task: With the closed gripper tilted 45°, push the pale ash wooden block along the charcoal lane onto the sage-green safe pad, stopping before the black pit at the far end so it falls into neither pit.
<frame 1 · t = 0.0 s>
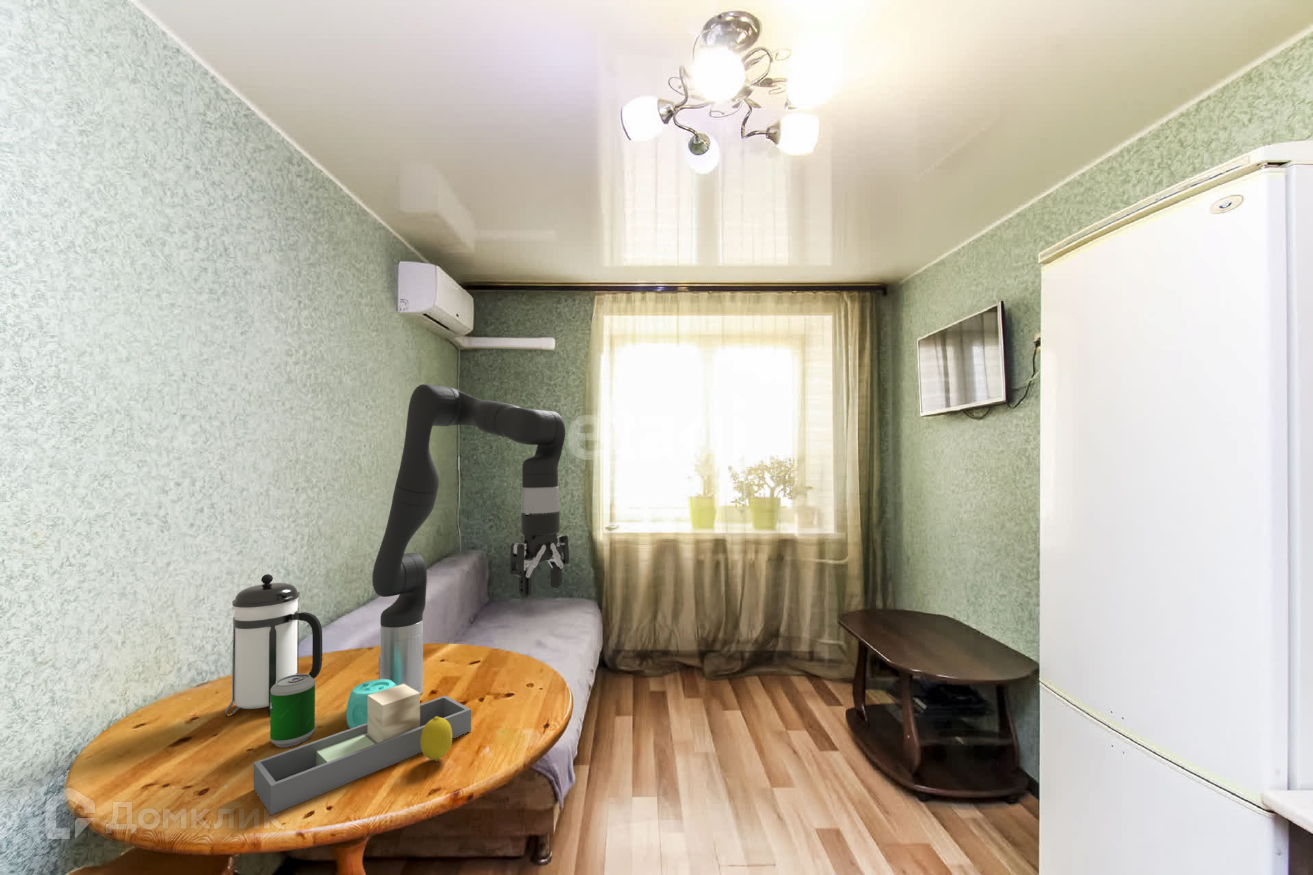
hand: (541, 591, 110), 29 cm above the table, tool pointing down, fingers open, 8 cm apart
ash block: (393, 733, 107), point 3 cm above the table, touching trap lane
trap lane: (372, 757, 104), on the table
soda can: (292, 740, 111), on the table
coffee press: (272, 705, 128), on the table
lemon: (436, 761, 102), on the table
decorative dice: (373, 725, 117), on the table
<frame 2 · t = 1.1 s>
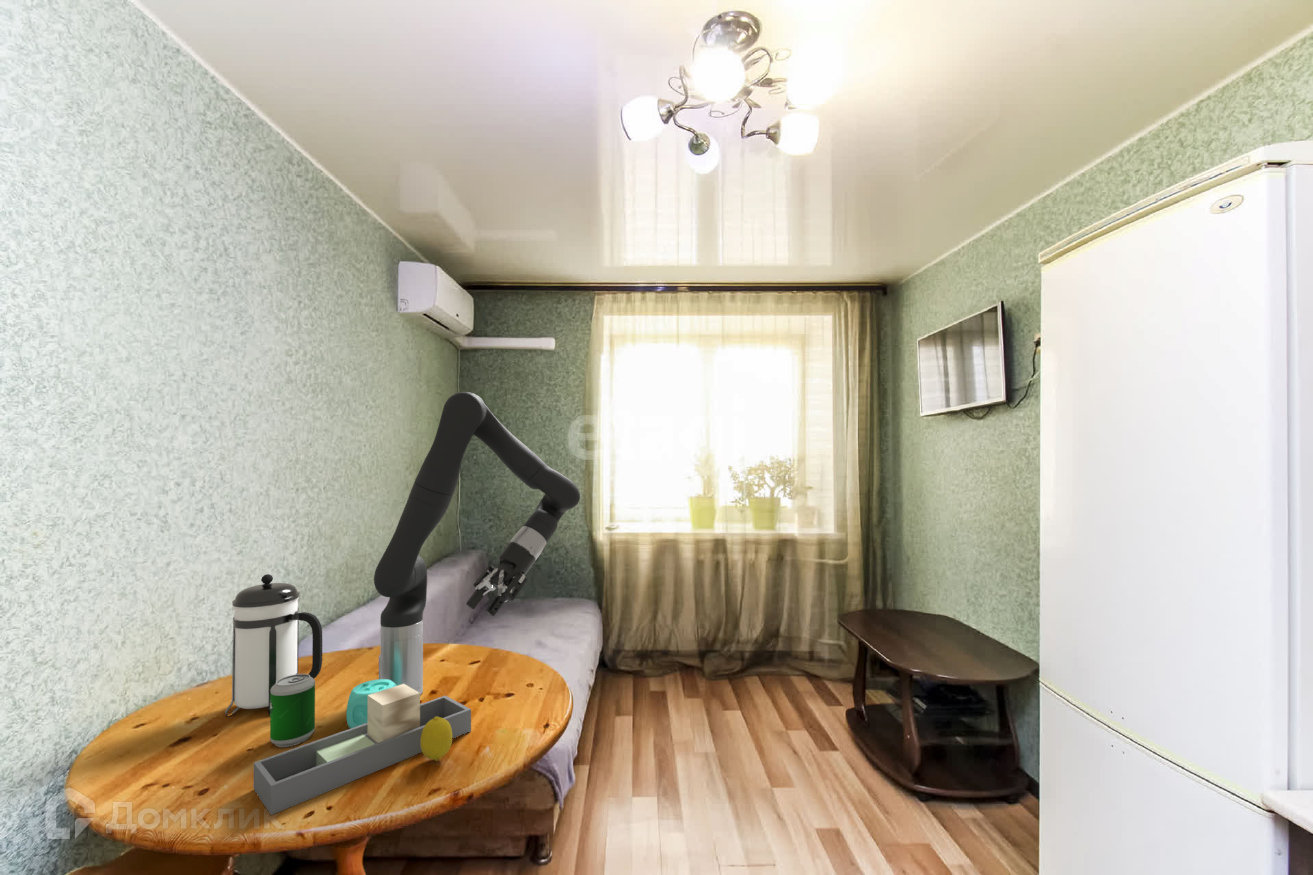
hand: (479, 610, 121), 23 cm above the table, tool tilted 45°, fingers open, 8 cm apart
nothing on the table moved.
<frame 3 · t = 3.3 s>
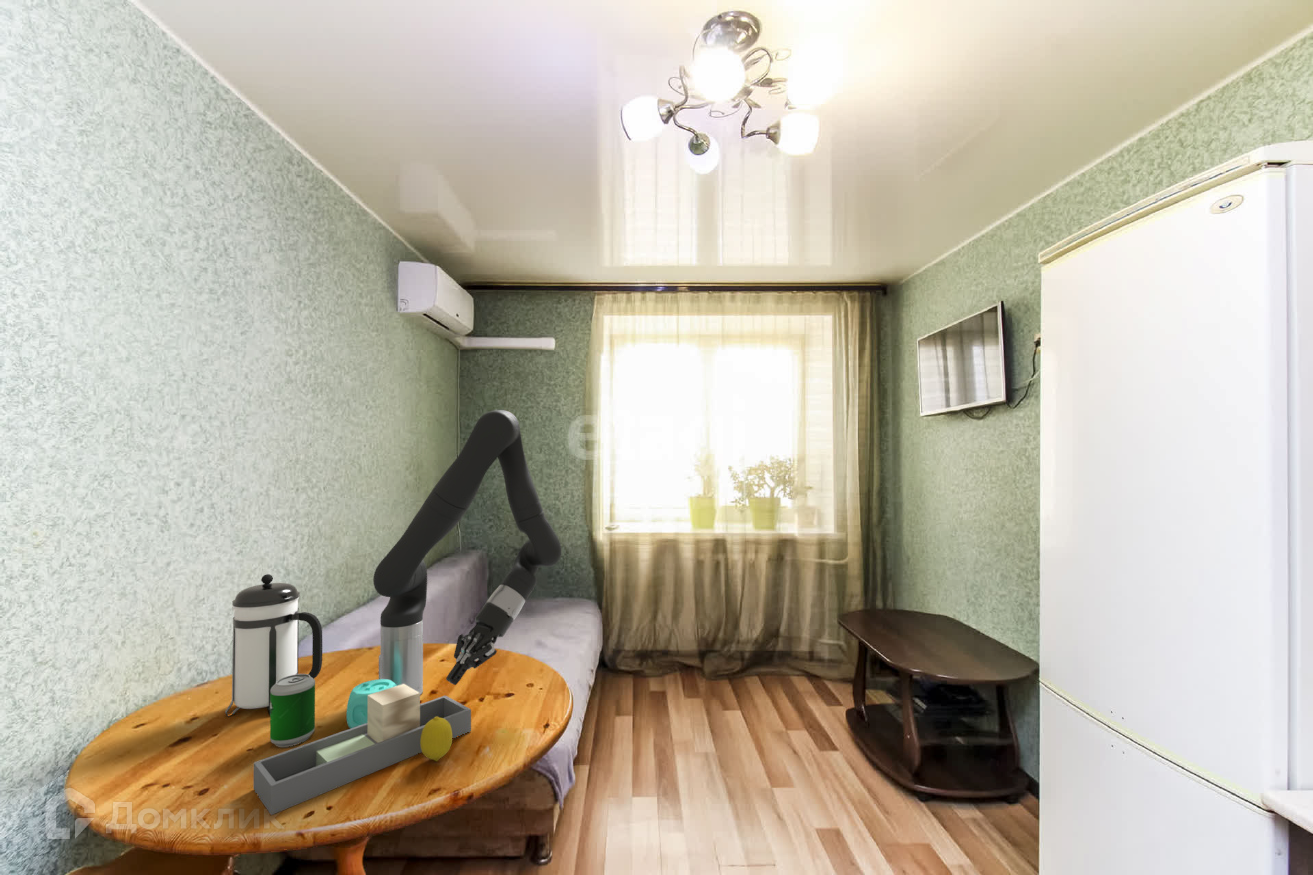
hand: (450, 682, 116), 9 cm above the table, tool tilted 45°, fingers closed
nothing on the table moved.
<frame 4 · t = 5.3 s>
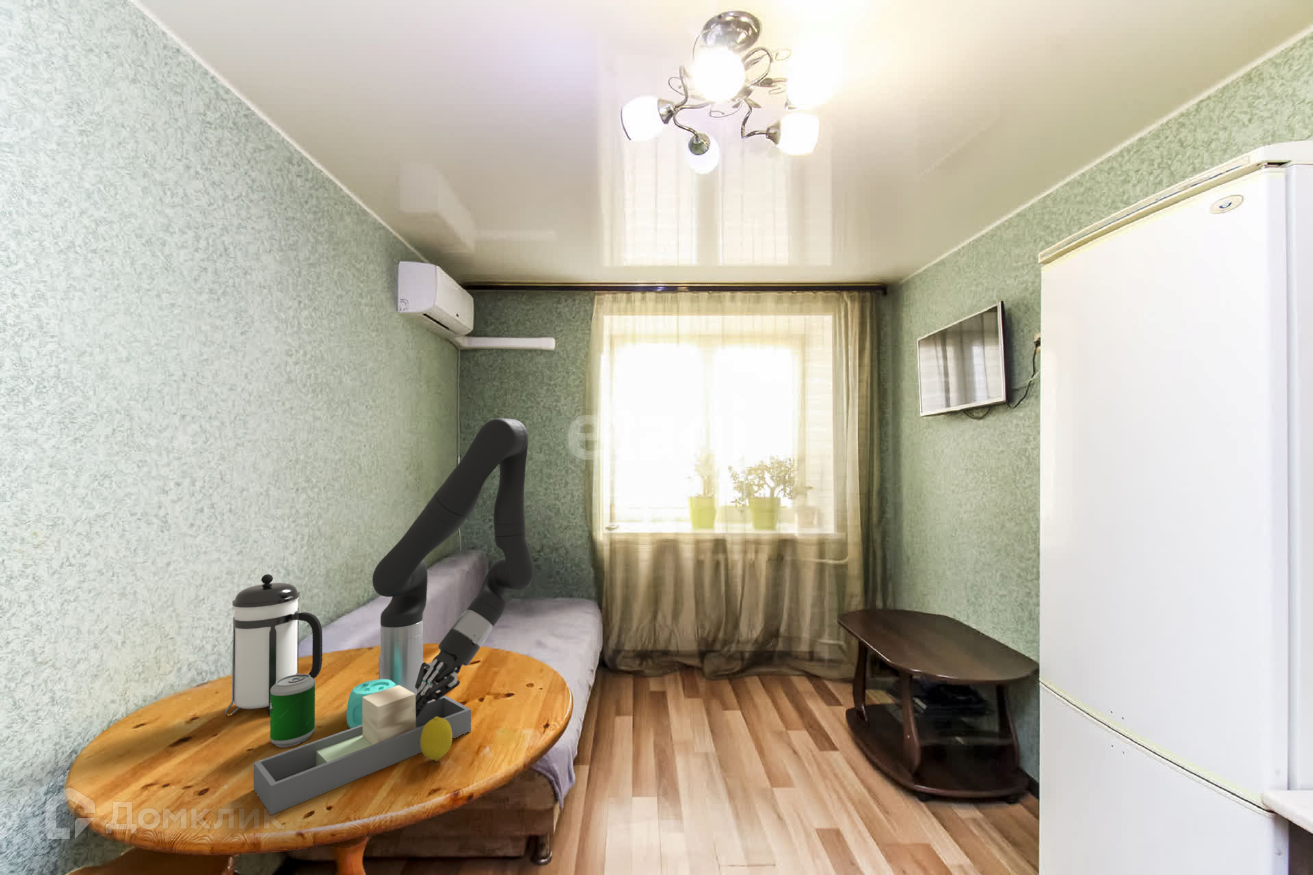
hand: (410, 715, 109), 5 cm above the table, tool tilted 45°, fingers closed
ash block: (389, 735, 106), point 3 cm above the table
everything else where it was.
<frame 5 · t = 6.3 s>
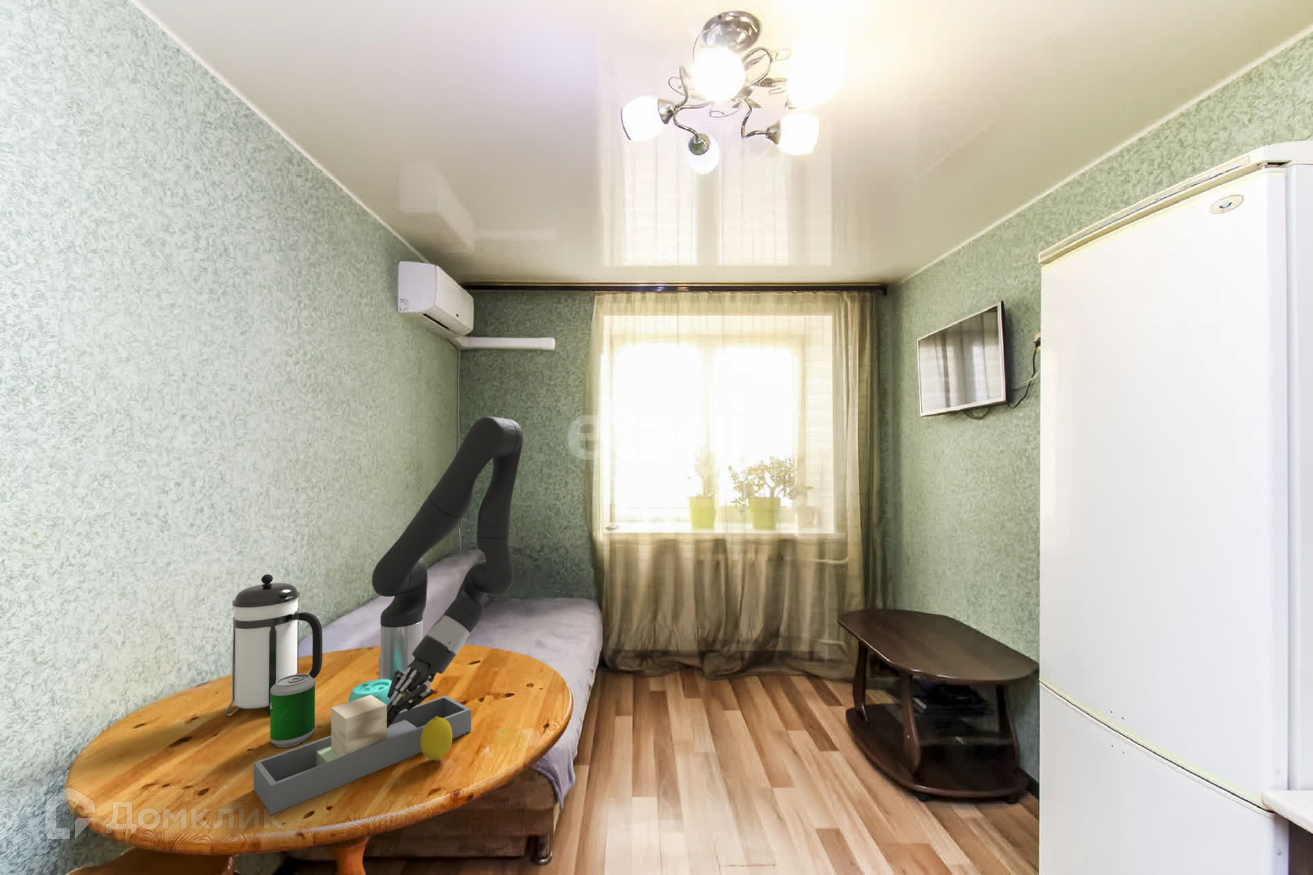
hand: (381, 725, 105), 5 cm above the table, tool tilted 45°, fingers closed
ash block: (359, 747, 102), point 3 cm above the table, touching gripper
everything else where it was.
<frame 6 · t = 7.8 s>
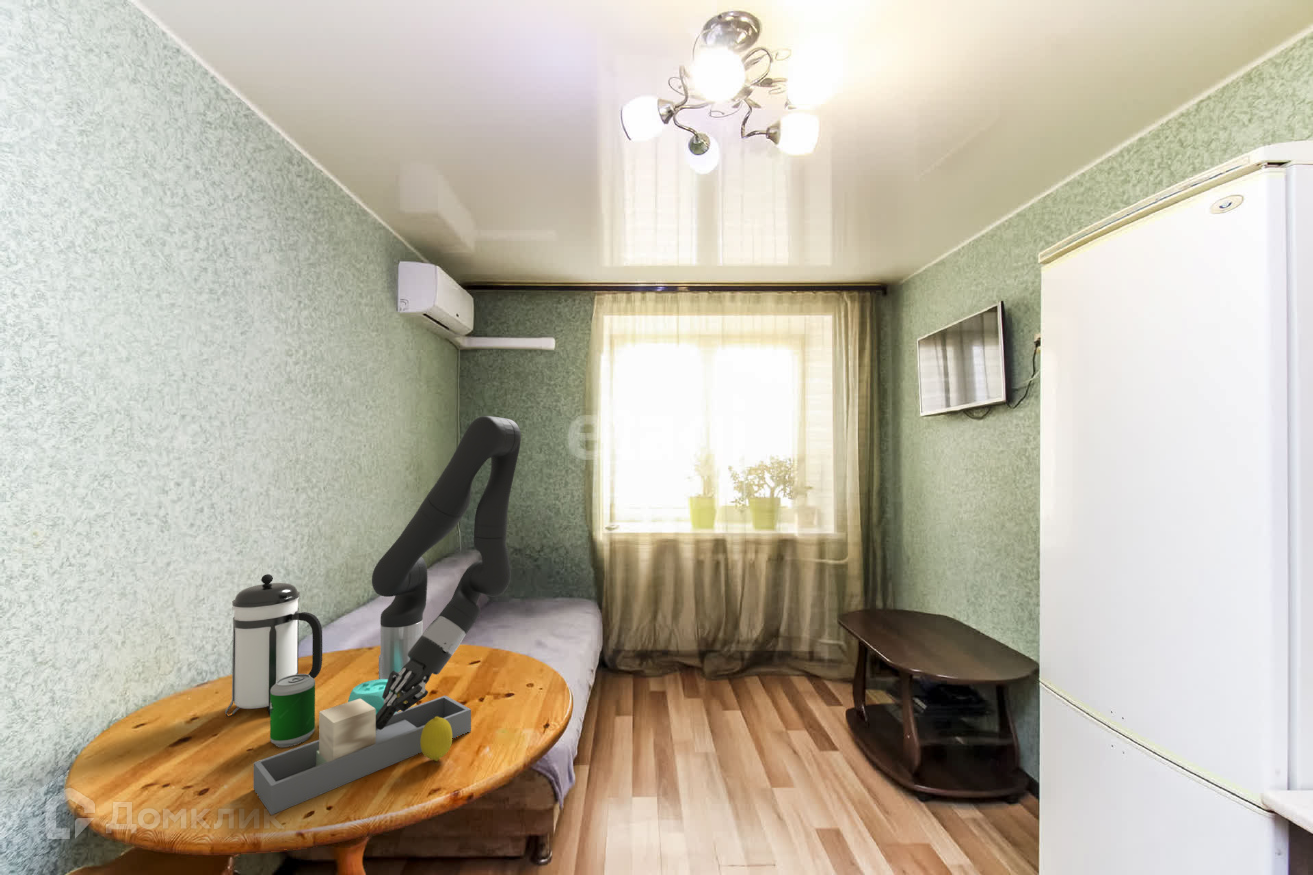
hand: (375, 726, 105), 5 cm above the table, tool tilted 45°, fingers closed
ash block: (347, 751, 100), point 3 cm above the table, touching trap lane
everything else where it was.
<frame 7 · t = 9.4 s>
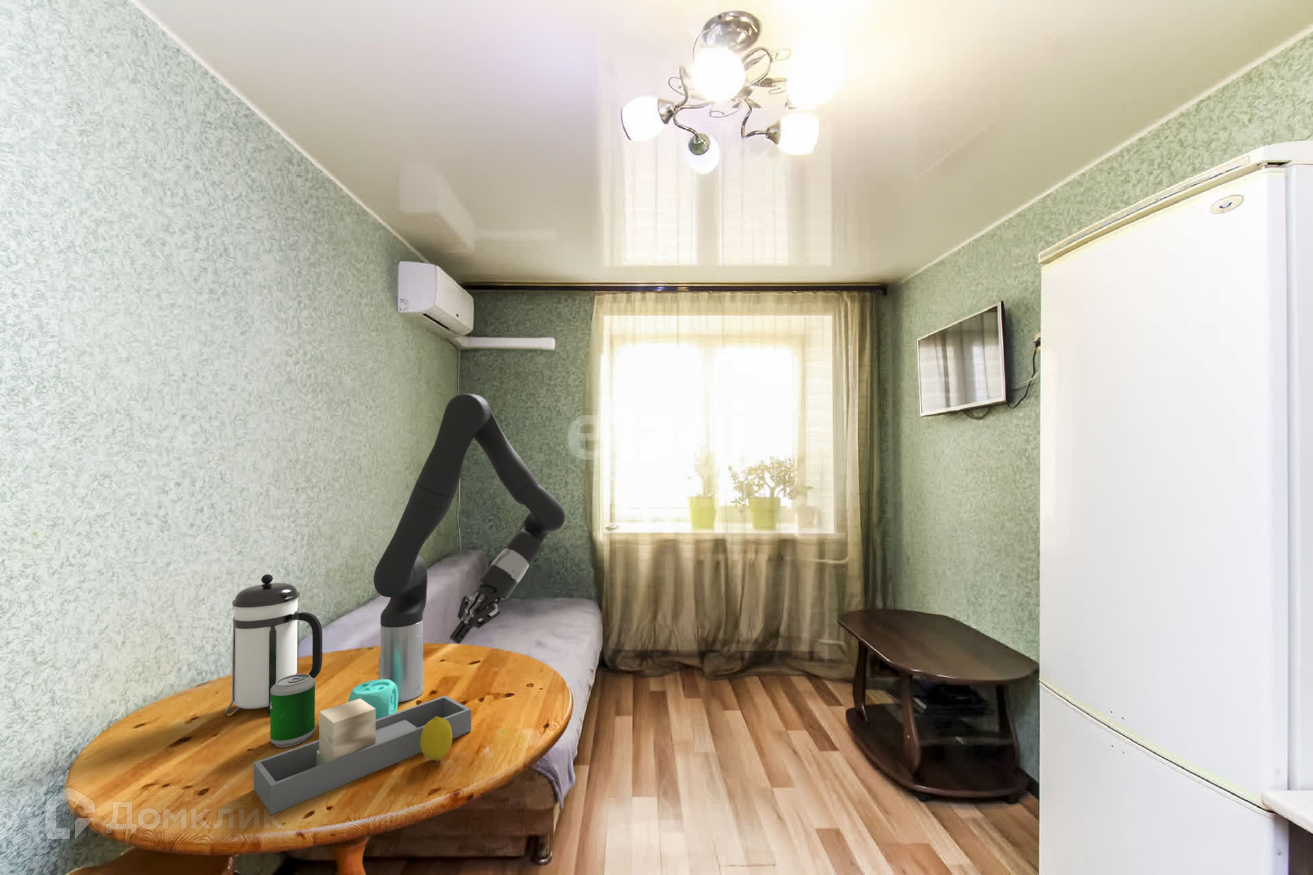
hand: (454, 640, 117), 17 cm above the table, tool tilted 45°, fingers closed
nothing on the table moved.
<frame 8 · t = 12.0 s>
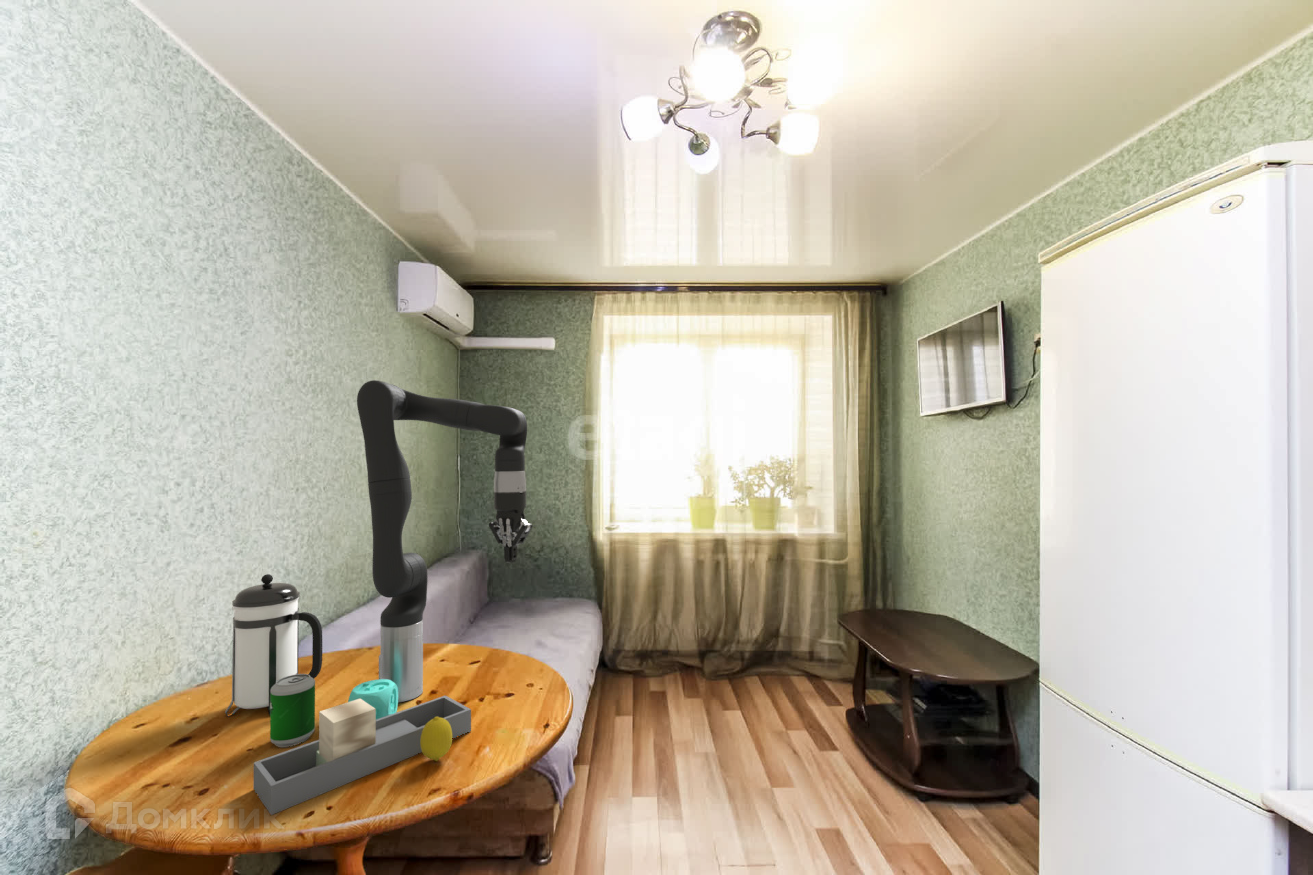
hand: (510, 561, 133), 31 cm above the table, tool pointing down, fingers closed
nothing on the table moved.
at the end: ash block 0.7 cm from the target spot on the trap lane, point 3.0 cm above the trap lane's base; ash block tilted 0° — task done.
